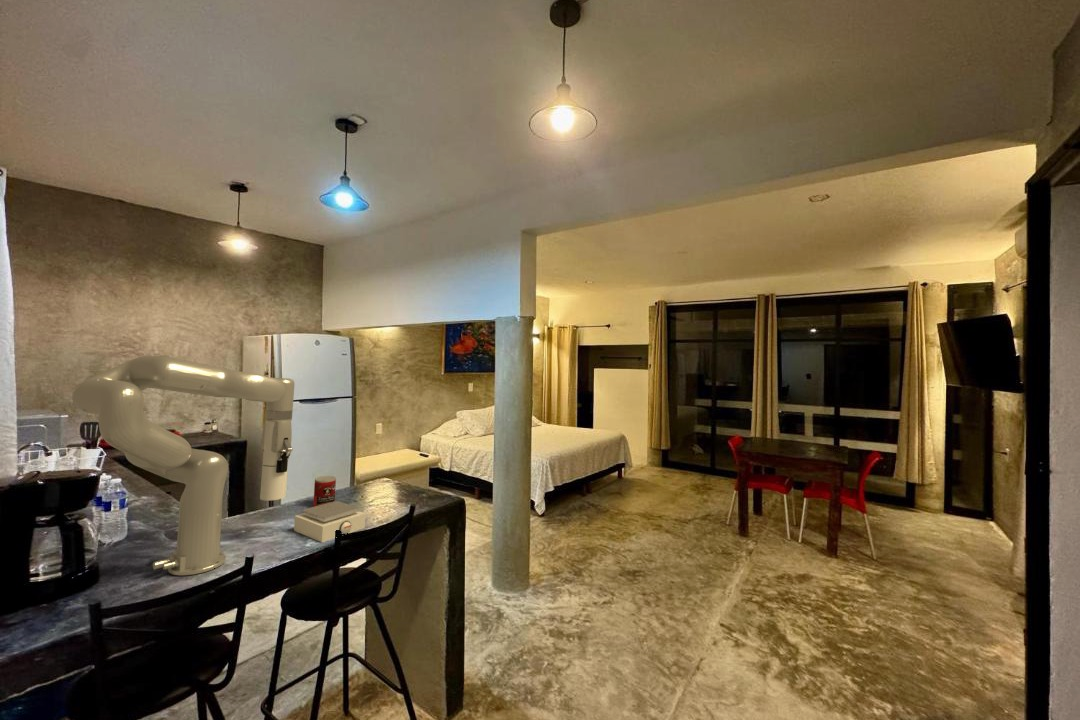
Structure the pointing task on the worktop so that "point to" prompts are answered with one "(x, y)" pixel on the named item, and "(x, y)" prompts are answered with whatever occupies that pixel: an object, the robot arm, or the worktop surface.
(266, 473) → the cylindrical container
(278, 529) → the worktop surface
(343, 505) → the scale pan
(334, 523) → the scale base
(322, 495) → the canned food
